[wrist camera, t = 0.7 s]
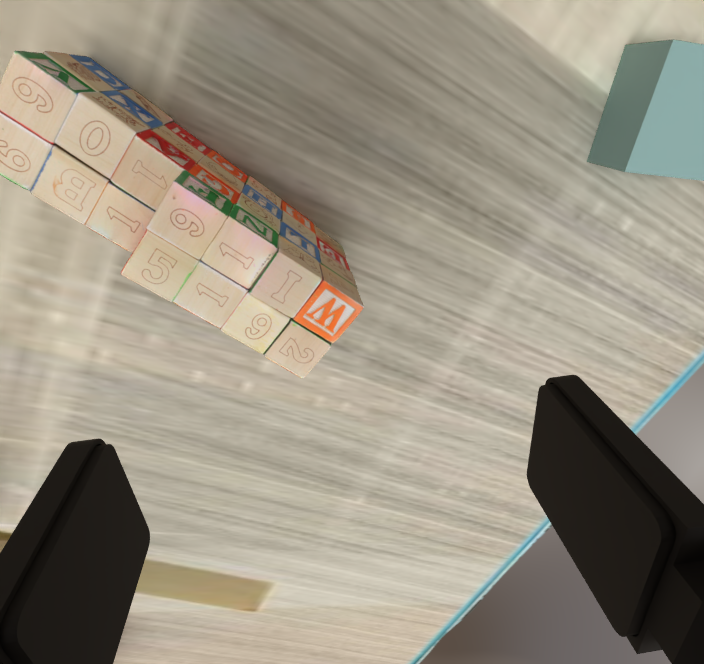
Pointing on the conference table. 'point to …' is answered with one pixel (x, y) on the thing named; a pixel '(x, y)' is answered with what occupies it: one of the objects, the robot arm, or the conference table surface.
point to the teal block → (655, 112)
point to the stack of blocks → (174, 209)
